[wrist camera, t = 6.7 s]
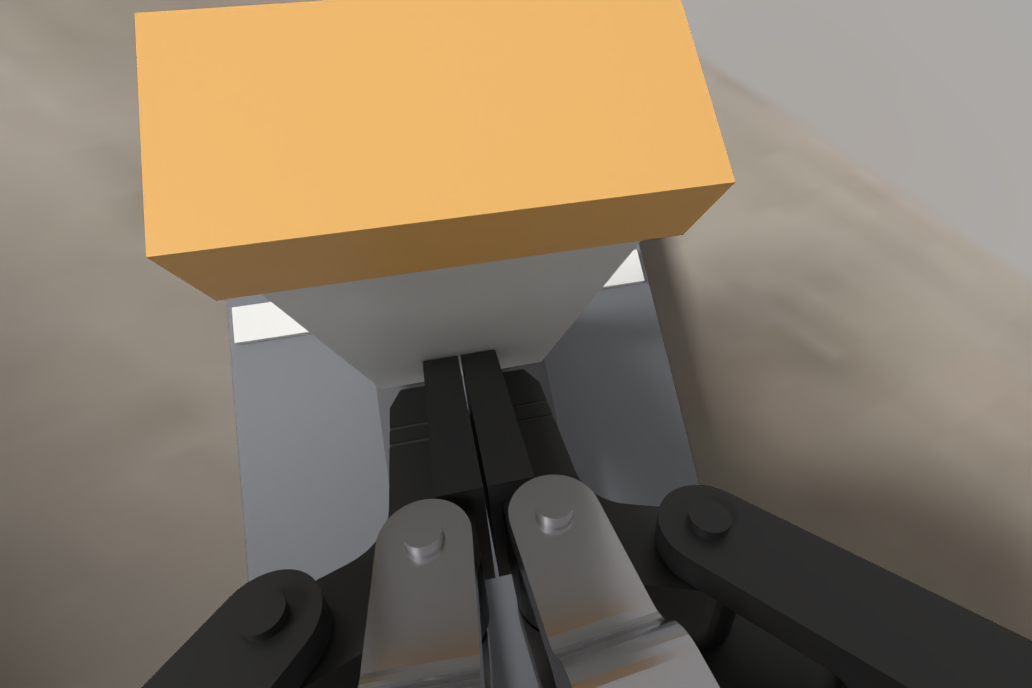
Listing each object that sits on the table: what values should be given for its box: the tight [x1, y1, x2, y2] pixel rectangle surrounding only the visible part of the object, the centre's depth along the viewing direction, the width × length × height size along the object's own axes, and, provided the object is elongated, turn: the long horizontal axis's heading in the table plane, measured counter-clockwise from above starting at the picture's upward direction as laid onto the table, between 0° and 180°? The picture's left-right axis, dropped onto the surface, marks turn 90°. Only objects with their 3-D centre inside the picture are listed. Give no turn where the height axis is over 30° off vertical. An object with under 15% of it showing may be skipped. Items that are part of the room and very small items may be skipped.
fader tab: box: [135, 0, 735, 407], centre depth 9 cm, size 4×4×10 cm
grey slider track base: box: [226, 244, 699, 688], centre depth 14 cm, size 24×12×4 cm, turn 11°
